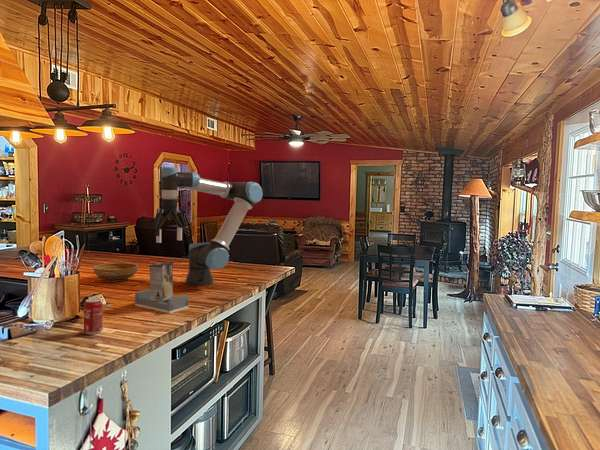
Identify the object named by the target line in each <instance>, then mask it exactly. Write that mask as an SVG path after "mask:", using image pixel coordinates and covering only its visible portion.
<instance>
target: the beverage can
mask: <svg viewBox="0 0 600 450" xmlns="http://www.w3.org/2000/svg"><path fill="white" fill-rule="evenodd" d="M103 329H104V303H103V301H102V300H101V298H88V299H85V302H84V304H83V332H85V333H86V334H87V335H96V334H100V333H101V331H103Z"/></svg>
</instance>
